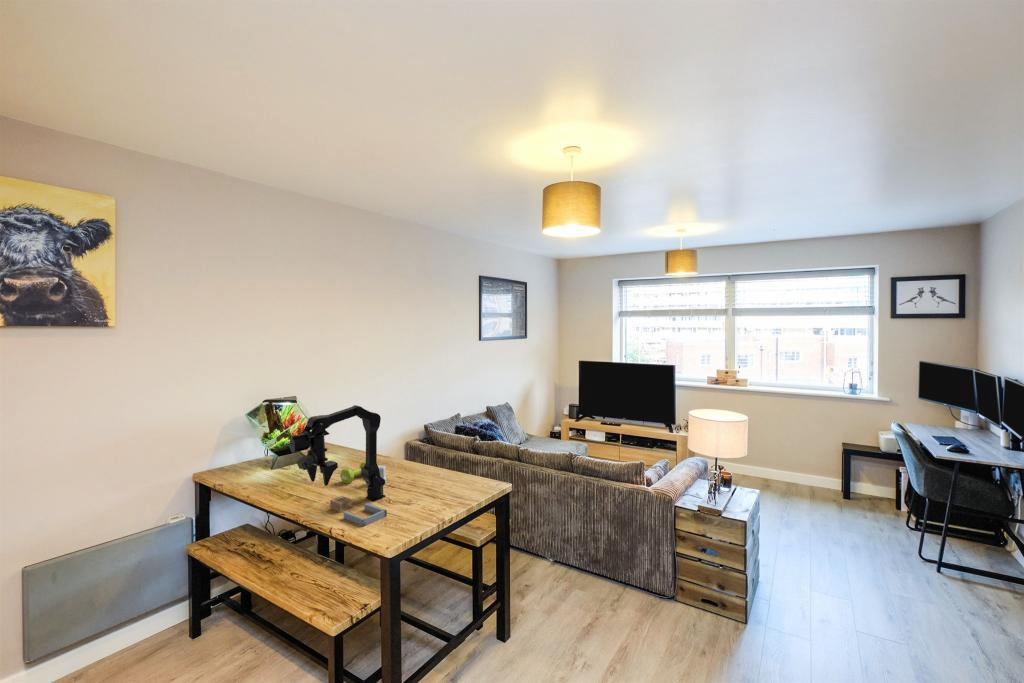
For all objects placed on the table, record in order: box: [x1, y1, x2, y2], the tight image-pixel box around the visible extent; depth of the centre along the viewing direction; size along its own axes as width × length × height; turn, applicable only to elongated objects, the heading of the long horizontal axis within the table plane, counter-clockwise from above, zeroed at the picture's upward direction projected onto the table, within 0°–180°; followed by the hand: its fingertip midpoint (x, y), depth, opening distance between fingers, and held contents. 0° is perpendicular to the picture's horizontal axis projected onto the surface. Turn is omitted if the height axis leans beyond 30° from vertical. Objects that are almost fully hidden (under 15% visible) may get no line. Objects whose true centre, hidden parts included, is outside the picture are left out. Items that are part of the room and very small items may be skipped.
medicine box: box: [367, 465, 387, 486], centre depth 231 cm, size 8×4×9 cm, turn 92°
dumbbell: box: [339, 460, 366, 485], centre depth 239 cm, size 16×8×7 cm, turn 150°
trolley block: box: [329, 495, 353, 513], centre depth 202 cm, size 6×7×4 cm
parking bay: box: [343, 503, 388, 527], centre depth 192 cm, size 11×13×2 cm
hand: (319, 483), depth 194 cm, fingers open, 9 cm apart
